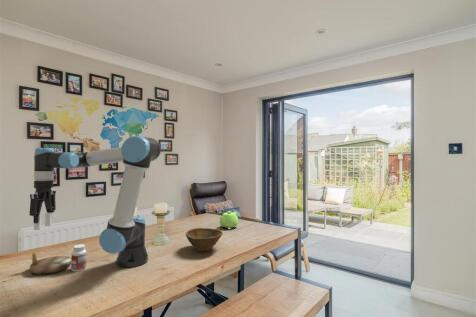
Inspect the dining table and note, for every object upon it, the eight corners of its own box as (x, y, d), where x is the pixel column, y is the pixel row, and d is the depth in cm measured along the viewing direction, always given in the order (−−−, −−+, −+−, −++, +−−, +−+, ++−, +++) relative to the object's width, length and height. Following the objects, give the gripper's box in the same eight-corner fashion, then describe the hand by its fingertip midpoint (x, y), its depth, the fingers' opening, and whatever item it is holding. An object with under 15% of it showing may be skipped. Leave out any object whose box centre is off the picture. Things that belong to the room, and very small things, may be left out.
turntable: (73, 258, 137) (74, 244, 137) (67, 270, 123) (67, 255, 122) (36, 262, 131) (36, 248, 131) (24, 275, 116) (24, 260, 116)
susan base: (71, 267, 129) (71, 265, 129) (42, 276, 119) (42, 274, 119) (58, 261, 135) (58, 260, 135) (30, 269, 125) (30, 268, 125)
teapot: (226, 231, 196) (227, 214, 196) (213, 228, 204) (214, 211, 204) (243, 226, 211) (243, 210, 211) (230, 223, 220) (231, 208, 220)
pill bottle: (69, 269, 127) (69, 245, 127) (83, 265, 131) (83, 242, 131) (73, 273, 123) (74, 249, 123) (88, 269, 127) (88, 245, 127)
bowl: (230, 249, 159) (231, 232, 159) (200, 259, 143) (201, 240, 142) (206, 240, 174) (207, 225, 174) (177, 249, 157) (177, 232, 157)
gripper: (50, 178, 138) (49, 222, 138) (19, 181, 119) (18, 233, 119) (64, 178, 138) (64, 223, 138) (35, 181, 118) (34, 233, 119)
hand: (42, 227), depth 128 cm, fingers open, 6 cm apart
